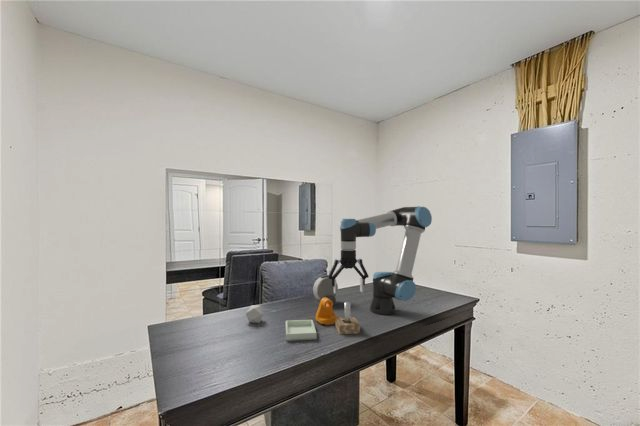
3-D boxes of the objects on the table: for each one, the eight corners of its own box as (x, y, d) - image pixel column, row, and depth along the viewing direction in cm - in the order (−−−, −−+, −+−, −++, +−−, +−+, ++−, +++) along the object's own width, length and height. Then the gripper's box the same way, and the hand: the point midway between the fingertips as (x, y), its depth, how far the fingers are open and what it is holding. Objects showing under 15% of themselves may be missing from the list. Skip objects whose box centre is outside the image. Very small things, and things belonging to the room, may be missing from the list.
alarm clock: (331, 299, 185) (331, 272, 186) (340, 303, 177) (340, 275, 177) (310, 303, 177) (311, 274, 177) (318, 307, 168) (319, 277, 168)
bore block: (354, 325, 141) (354, 317, 142) (359, 333, 132) (360, 324, 132) (335, 325, 140) (335, 318, 140) (339, 334, 130) (339, 325, 130)
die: (266, 320, 148) (258, 303, 151) (267, 317, 140) (259, 299, 144) (251, 328, 144) (243, 310, 148) (251, 325, 137) (243, 307, 140)
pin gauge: (349, 328, 138) (350, 302, 138) (351, 330, 134) (351, 304, 135) (343, 328, 137) (343, 302, 137) (344, 330, 134) (345, 304, 134)
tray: (312, 325, 140) (312, 319, 140) (316, 339, 124) (316, 332, 124) (285, 326, 138) (285, 320, 138) (286, 340, 122) (286, 334, 122)
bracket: (321, 326, 140) (322, 302, 140) (315, 321, 146) (315, 298, 146) (339, 322, 145) (340, 299, 145) (332, 318, 151) (332, 296, 151)
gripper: (369, 248, 142) (370, 289, 142) (322, 249, 138) (322, 291, 138) (374, 250, 135) (375, 293, 134) (324, 251, 131) (324, 295, 131)
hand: (348, 292), depth 136 cm, fingers open, 13 cm apart
